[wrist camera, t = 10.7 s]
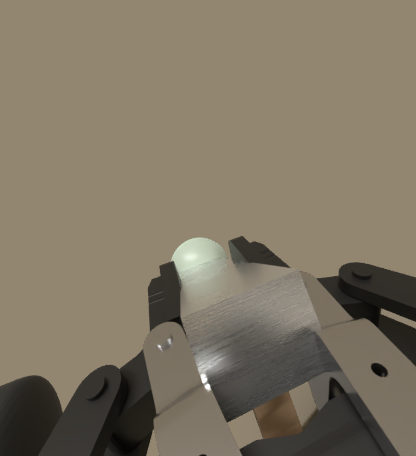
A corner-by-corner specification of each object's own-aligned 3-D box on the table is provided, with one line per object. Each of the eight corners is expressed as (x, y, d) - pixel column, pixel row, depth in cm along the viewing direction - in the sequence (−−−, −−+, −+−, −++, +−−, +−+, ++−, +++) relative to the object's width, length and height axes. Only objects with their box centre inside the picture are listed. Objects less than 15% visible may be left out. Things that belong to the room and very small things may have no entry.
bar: (186, 443, 4) (120, 242, 5) (181, 293, 20) (166, 249, 20) (360, 354, 5) (293, 184, 5) (223, 276, 21) (208, 235, 21)
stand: (326, 647, 20) (211, 318, 22) (278, 515, 30) (202, 297, 32) (395, 598, 21) (279, 290, 23) (327, 486, 31) (250, 278, 33)
